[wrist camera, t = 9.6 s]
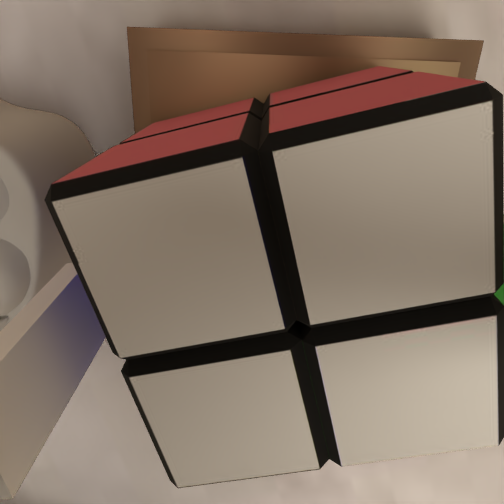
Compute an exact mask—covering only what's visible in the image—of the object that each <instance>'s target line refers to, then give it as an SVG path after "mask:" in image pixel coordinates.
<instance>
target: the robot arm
mask: <svg viewBox="0 0 504 504" xmlns="http://www.w3.org/2000/svg"><path fill="white" fill-rule="evenodd" d="M503 221H504V215H503ZM494 295H495V296H496V297H497V298H498V299H499V300H500V301H501V303H502V304H503V305H504V283H503V285H502V286H501V287H500V288H499V289H498V290H497V292H496V293H494ZM105 337H106V336H105V334H104V332H103V330H102V327H101V325H100V323H99V321H98V319H97V316H96V314H95V312H94V310H93V307H92V305H91V303H90V301H89V299H88V296H87V294H86V292H85V290H84V287H83V285H82V283H81V281H80V278H79V276H78V274H77V272H76V270H75V267H74V265H73V263H66V264H65V265H64V267H63V268H62V269H61V270H60V271H59V272H58V273H57V274H56V275H55V276H54V277H53V278H52V279H51V280H50V281H49V282H48V283H47V284H46V285H45V286H44V287H43V288H42V289H41V290H40V291H39V292H38V293H37V294H36V295H35V296H34V297H33V298H32V299H31V300H30V302H29V303H28V304H27V305H26V306H25V307H24V308H23V309H22V310H21V311H20V312H19V313H18V314H17V315H16V316H15V317H14V318H13V319H12V320H11V321H10V322H9V323H8V324H7V325H6V326H5V327H4V328H3V329H2V330H1V331H0V500H1V499H13V498H14V496H15V494H16V493H17V491H18V489H19V487H20V486H21V484H22V482H23V480H24V479H25V477H26V475H27V473H28V472H29V470H30V468H31V466H32V465H33V463H34V461H35V459H36V458H37V456H38V454H39V452H40V451H41V449H42V447H43V446H44V444H45V442H46V440H47V439H48V437H49V435H50V433H51V432H52V430H53V428H54V426H55V425H56V423H57V421H58V419H59V418H60V416H61V414H62V412H63V411H64V409H65V407H66V405H67V404H68V402H69V400H70V398H71V397H72V395H73V393H74V391H75V390H76V388H77V386H78V385H79V383H80V381H81V379H82V378H83V376H84V374H85V372H86V371H87V369H88V367H89V365H90V364H91V362H92V360H93V358H94V357H95V355H96V353H97V351H98V350H99V348H100V346H101V344H102V343H103V341H104V339H105Z"/></svg>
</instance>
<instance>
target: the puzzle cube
mask: <svg viewBox="0 0 504 504" xmlns="http://www.w3.org/2000/svg"><path fill="white" fill-rule="evenodd" d="M44 200H45V203H46V205H47V207H48V209H49V212H50V214H51V216H52V218H53V221H54V223H55V225H56V227H57V229H58V232H59V234H60V236H61V238H62V241H63V243H64V245H65V247H66V249H67V252H68V254H69V256H70V258H71V261H72V263H73V265H74V267H75V270H76V272H77V274H78V276H79V278H80V281H81V283H82V285H83V287H84V290H85V292H86V294H87V296H88V299H89V301H90V303H91V305H92V307H93V310H94V312H95V314H96V316H97V319H98V321H99V323H100V325H101V327H102V330H103V332H104V334H105V336H106V339H107V341H108V343H109V345H110V348H111V350H112V352H113V353H114V354H115V355H117V356H118V357H119V358H122V359H126V362H125V364H124V366H123V368H122V370H121V372H122V374H123V376H124V379H125V381H126V383H127V385H128V388H129V390H130V392H131V394H132V397H133V399H134V401H135V403H136V405H137V408H138V410H139V412H140V414H141V417H142V419H143V421H144V423H145V425H146V428H147V430H148V432H149V434H150V437H151V439H152V441H153V443H154V446H155V448H156V450H157V452H158V454H159V457H160V459H161V461H162V463H163V466H164V468H165V470H166V472H167V474H168V477H169V479H170V481H171V482H172V483H173V484H174V485H175V486H176V487H177V488H183V487H191V486H198V485H206V484H213V483H221V482H228V481H236V480H243V479H251V478H258V477H266V476H273V475H281V474H288V473H296V472H303V471H311V470H318V469H321V467H322V466H323V465H324V464H325V463H326V462H327V461H328V460H329V459H330V460H332V461H334V462H335V463H337V464H338V465H340V466H341V467H342V466H350V465H357V464H365V463H372V462H380V461H387V460H395V459H402V458H410V457H417V456H425V455H432V454H440V453H447V452H455V451H462V450H470V449H477V448H485V447H492V446H499V444H500V443H501V441H502V439H503V438H504V305H503V304H502V303H501V301H500V300H499V299H498V298H497V297H496V296H495V295H494V293H496V292H497V290H498V289H499V288H500V287H501V286H502V285H503V283H504V221H503V94H501V93H500V92H499V91H497V90H496V89H495V88H493V87H492V86H491V85H489V84H488V83H487V82H484V81H477V80H471V79H464V78H458V77H451V76H445V75H438V74H432V73H425V72H413V71H412V70H406V69H398V68H390V67H383V66H377V67H373V68H369V69H365V70H361V71H357V72H353V73H349V74H345V75H341V76H337V77H333V78H329V79H325V80H321V81H317V82H313V83H309V84H305V85H301V86H297V87H294V88H290V89H286V90H282V91H278V92H274V93H270V94H269V95H268V97H267V99H266V101H265V102H264V103H262V102H260V101H259V100H257V99H256V98H250V99H246V100H242V101H238V102H234V103H230V104H226V105H222V106H218V107H214V108H210V109H206V110H202V111H198V112H194V113H191V114H187V115H183V116H179V117H175V118H171V119H167V120H163V121H159V122H155V123H152V124H150V125H149V126H147V127H145V128H144V129H142V130H140V131H139V132H137V133H136V134H134V135H132V136H131V137H129V138H127V139H126V140H124V141H122V142H121V143H120V145H115V146H113V147H111V148H110V149H108V150H106V151H105V152H103V153H101V154H100V155H98V156H96V157H95V158H93V159H91V160H90V161H88V162H86V163H85V164H83V165H81V166H80V167H78V168H76V169H75V170H73V171H71V172H70V173H68V174H66V175H65V176H63V177H61V178H60V179H58V180H56V181H55V182H53V183H51V185H50V188H49V190H48V192H47V195H46V197H45V199H44Z"/></svg>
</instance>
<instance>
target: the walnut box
mask: <svg viewBox="0 0 504 504" xmlns="http://www.w3.org/2000/svg"><path fill="white" fill-rule="evenodd" d="M127 35H128V49H129V62H130V76H131V90H132V103H133V117H134V131H135V134H136V133H137V132H139V131H140V130H142V129H144V128H145V127H147V126H149V125H150V124H152V123H155V122H159V121H163V120H167V119H171V118H175V117H179V116H183V115H187V114H191V113H194V112H198V111H202V110H206V109H210V108H214V107H218V106H222V105H226V104H230V103H234V102H238V101H242V100H246V99H250V98H256V99H257V100H259V101H260V102H262V103H264V102H265V101H266V99H267V97H268V95H269V94H270V93H274V92H278V91H282V90H286V89H290V88H294V87H297V86H301V85H305V84H309V83H313V82H317V81H321V80H325V79H329V78H333V77H337V76H341V75H345V74H349V73H353V72H357V71H361V70H365V69H369V68H373V67H377V66H383V67H390V68H398V69H406V70H412V71H413V72H425V73H432V74H438V75H445V76H451V77H458V78H464V79H471V80H475V77H476V72H477V68H478V64H479V59H480V55H481V51H482V46H483V42H484V41H481V40H455V39H429V38H403V37H377V36H351V35H325V34H299V33H273V32H247V31H222V30H196V29H170V28H144V27H127Z"/></svg>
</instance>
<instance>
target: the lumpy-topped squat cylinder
mask: <svg viewBox="0 0 504 504" xmlns="http://www.w3.org/2000/svg"><path fill="white" fill-rule="evenodd" d="M93 158H95V155H94V152H93V149H92V147H91V145H90V143H89V141H88V140H87V138H86V136H85V135H84V134H83V132H82V131H81V130H80V129H79V128H78V127H77V126H76V125H75V124H74V123H73V122H72V121H70V120H69V119H67V118H65V117H63V116H60V115H58V114H54V113H51V112H46V111H39V110H33V109H27V108H23V107H19V106H16V105H13V104H10V103H8V102H6V101H4V100H1V99H0V331H1V330H2V329H3V328H4V327H5V326H6V325H7V324H8V323H9V322H10V321H11V320H12V319H13V318H14V317H15V316H16V315H17V314H18V313H19V312H20V311H21V310H22V309H23V308H24V307H25V306H26V305H27V304H28V303H29V302H30V300H31V299H32V298H33V297H34V296H35V295H36V294H37V293H38V292H39V291H40V290H41V289H42V288H43V287H44V286H45V285H46V284H47V283H48V282H49V281H50V280H51V279H52V278H53V277H54V276H55V275H56V274H57V273H58V272H59V271H60V270H61V269H62V268H63V267H64V265H65V264H66V263H72V261H71V258H70V256H69V254H68V252H67V249H66V247H65V245H64V243H63V241H62V238H61V236H60V234H59V232H58V229H57V227H56V225H55V223H54V221H53V218H52V216H51V214H50V212H49V209H48V207H47V205H46V203H45V200H44V199H45V197H46V195H47V192H48V190H49V188H50V185H51V183H53V182H55V181H56V180H58V179H60V178H61V177H63V176H65V175H66V174H68V173H70V172H71V171H73V170H75V169H76V168H78V167H80V166H81V165H83V164H85V163H86V162H88V161H90V160H91V159H93Z"/></svg>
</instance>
